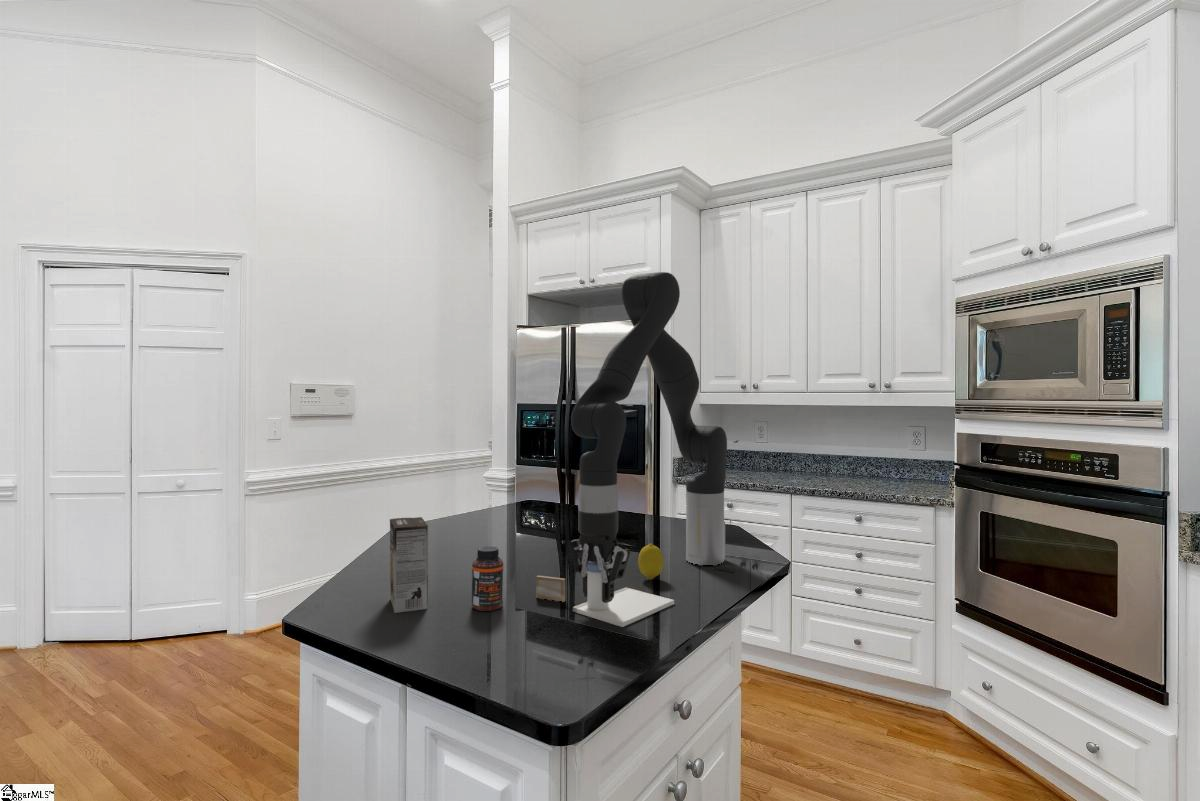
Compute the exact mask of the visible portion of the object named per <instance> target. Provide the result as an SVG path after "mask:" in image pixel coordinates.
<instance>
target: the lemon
mask: <svg viewBox="0 0 1200 801" xmlns="http://www.w3.org/2000/svg"><path fill="white" fill-rule="evenodd" d="M637 560H638V561H637V566H638V569H639V571H640V573H641V574H642V575H643V576H644V577H647V579H648V580H650V581H652V580H653V579H654V578H656V577H657V576H660V574H661V572H662V570H663V568H664V557H663V553H662V551H661V549H660V548H659V547H658V546H656V545H654V544H653V543H648V544H647V545H645V546H643V547H642V548H641V550H640V552H639V555H638V558H637Z"/></svg>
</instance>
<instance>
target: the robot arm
mask: <svg viewBox="0 0 1200 801" xmlns="http://www.w3.org/2000/svg"><path fill="white" fill-rule="evenodd" d="M680 294H681V292H680V285H679V282H678V280H677V278H676V277H675V276H674V274H672V273H670V272H667V271H666V272H665V271H662V272H661V271H660V272H659V271H657V272H650V273H649V272H648V273H639V274H633V275H629V276H628V277H626V278H625V280H624V281H623V283H622V286H621V297H622V302H623V306H624V309H625V311H626V315H628V318H629V320H630V322H631V324H632V325H633V327H632V328H631V329H630V330H629V331H628V332H627V333H626V334H624V336H623V337H622V338H620V339H619V340H618V341H617V342H616V343H614V344H615V345H613V347H612V348H611V349H610V351H608V353H607V355H606V357H605V360H604V361H603V364H602V365H601V369H600V371H599V373H598V374H597V377H596V379H595V380H594V381H593V382H592V383H591V384H590V385H589V386H588V388H586V390H585V392H584V393H583V394H582V395H581V396H580V398H579V399H578V400H577V401H576V403H575V405H574V407H573V410H572V412H571V416H570V424H571V429H572V431H573V432H574V434H575V435H576V436H578V437H580V438H582V439H596V440H597V442H596V447H595V449H594V450H591V451H586V452H584V453H583V454H581V456H580V459H579V487H578V497H577V502H578V504H577V505H578V506H577V508H578V511H577V514H578V515H577V516H578V518H577V521H578V522H577V524H578V525H577V527H578V528H577V531H578V533H580V536H579V538H578V539H573V540H569V541H568V543H567V544H568V549H569V553H570V556H571V561H572V566H573V570H574V572H575V573H579V574H580V576H581V577H582V592H583V597H585V598H587V563H589V561H591V562H593V561H595V562H597V563H598V568H599V570H600V571H601V574H602V579H603V583H602V601H603V602H605V603H608V602H610V601H612V599H613V598H614V592H615V582H616V581H619V580H621V579H623V578H624V576H625V572H626V569H627V566H628V562H629V559H630V555H631V552H630V549H628V548H625V549H623V548H622V547H620V546H619V543H618V540H617V534H618V532H619V491H618V459H619V455H620V452H621V448H622V444H623V441H624V437H625V433H626V428H627V416H626V413H625V410H624V409H623V407H622V406H621V405H620V404H619V403H618V402H620V401H623V400H625V399H627V398H628V397H629V395H630V393H631V391H632V389H633V386H634V383H635V382H636V379H637V377H638V374H639V372H640V370H641V367H642V366H643V363H644V361H645V360H646V357H648V360H649V363H650V365H651V369H652V372H653V374H654V378H655V380H656V383H657V385H658V388H659V390H660V393H661V395H662V398H663V400H664V403H665V405H666V408H667V411H668V415H669V417H670V421H671V424H672V427H673V430H674V431H673V432H674V435H675V439H676V443H677V445H678V450H679V452H680V455H681V457H682V458H683V460H685V461H686V462H689V463H693V464H706V465H705V466H706V467H705V470H704V472H702V473H700V474H699V475H696V476H692V477H689V478H688V479H686V484H685V485H686V486H685V561H686V560H687V561H688V562H687V561H686V562H687V563H689V562H690V563H689V564H691V563H693V564H692V565H695V564H698V565H697V566H703V565H713V566H718V564H720V565H722V564H724V563H725V560H726V521H725V484H726V483H725V482H726V476H727V474H726V473H727V454H728V438H727V434H726V432H725V429H724V428H723V427H721V426H718V425H697V424H695V423H694V420H693V418H692V415H691V412H692V408H693V405H694V402H695V400H696V398H697V396H698V393H699V388H700V379H699V374H698V372H697V368H696V366H695V363H694V361H693V358H692V357H691V355H690V353H689V352H688V351H687V350H686V349H685V348H684V347H683V346H682V345H681V344H680V343H679V342H678V341H677V340H676V339H674V338H673V337H672V336H671V334H669V333H668V332H667V331H666V330H665V328H666V326H667V325H668V323H669V322H670V320H671V319H672V317H673V315H674V313H675V312H676V310H677V307H678V305H679V302H680V297H681V296H680ZM724 559H725V560H724ZM606 562H608V563H609V564H607V565H605V564H604V563H606ZM723 562H724V563H723ZM721 563H722V564H721ZM608 569H609V570H608ZM607 570H608V571H607ZM608 572H609V575H608Z"/></svg>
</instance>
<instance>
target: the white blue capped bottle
mask: <svg viewBox="0 0 1200 801" xmlns="http://www.w3.org/2000/svg"><path fill="white" fill-rule="evenodd" d="M604 564H605V565H607V564H609V563H608V562H606V563H604ZM608 570H609V569H608ZM608 570H607V571H608ZM608 575H609V572H608ZM602 583H603V579H602V574H601V571H600V570H599V568H598V563H597V562H595V561H593V562H591V561H589V563H587V597H586V598H587V599H586V600H587V601H586V602H587V607H588V608H589V609H592V610H604V609H607V608H608V607H609V602H608V603H605V602H603V601H602Z"/></svg>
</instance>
